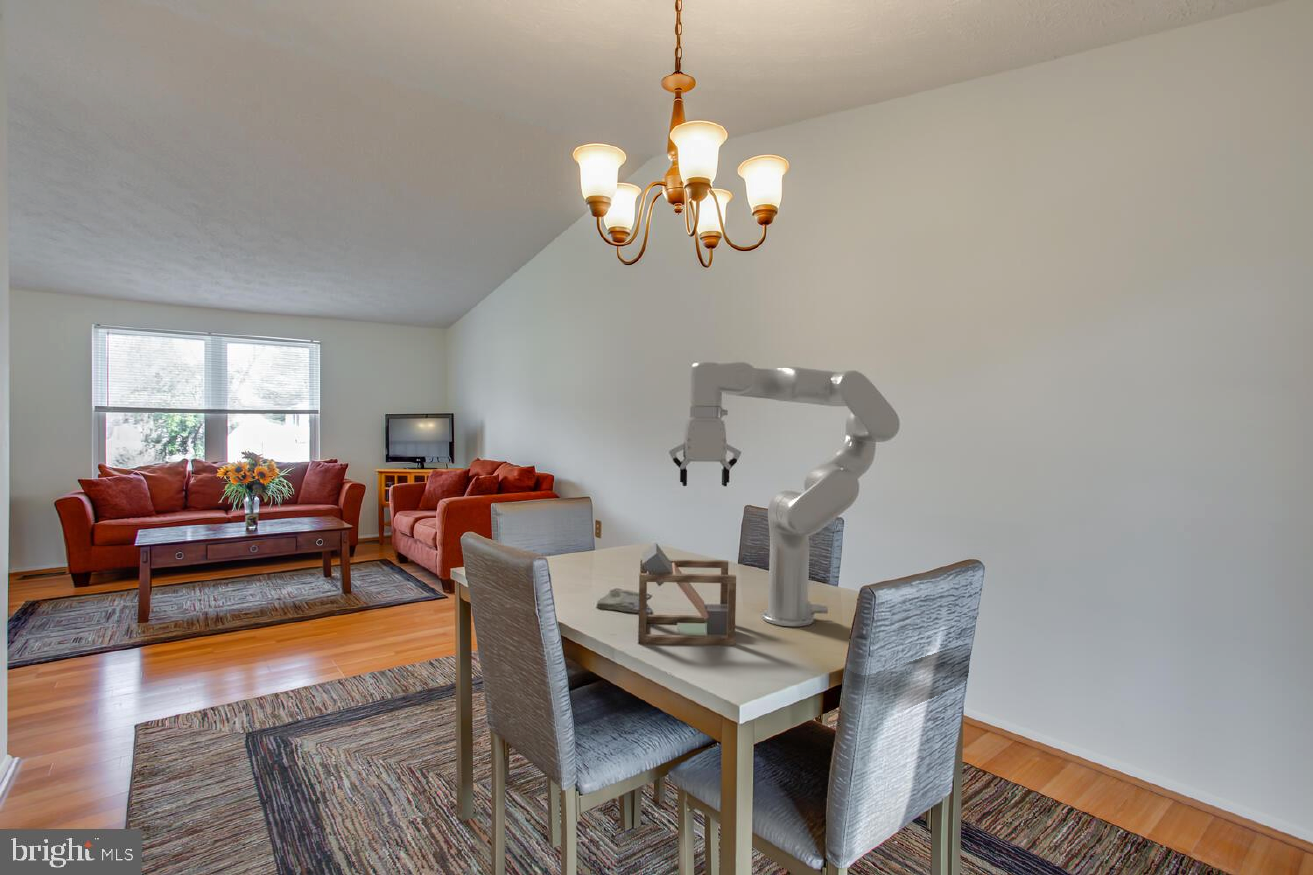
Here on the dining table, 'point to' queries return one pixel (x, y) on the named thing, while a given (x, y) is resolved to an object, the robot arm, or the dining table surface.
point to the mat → (692, 629)
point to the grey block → (716, 619)
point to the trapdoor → (661, 564)
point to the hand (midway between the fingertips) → (704, 485)
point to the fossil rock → (622, 601)
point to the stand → (725, 598)
